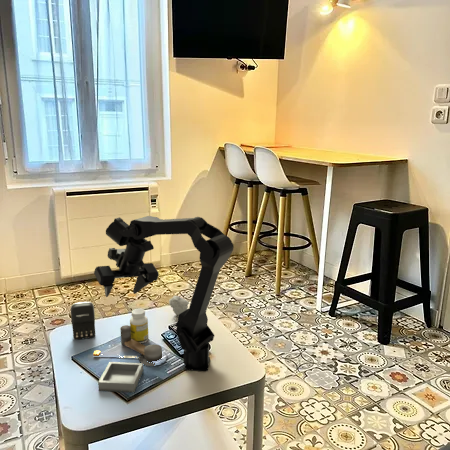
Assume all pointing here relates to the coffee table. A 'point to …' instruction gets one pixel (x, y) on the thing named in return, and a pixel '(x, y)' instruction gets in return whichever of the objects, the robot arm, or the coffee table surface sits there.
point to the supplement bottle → (139, 325)
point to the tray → (120, 377)
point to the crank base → (131, 357)
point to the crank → (140, 345)
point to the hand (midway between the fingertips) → (120, 294)
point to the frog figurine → (178, 304)
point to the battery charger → (83, 320)
